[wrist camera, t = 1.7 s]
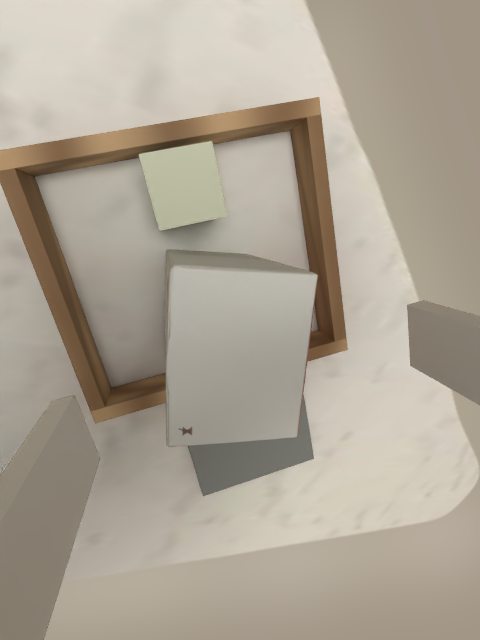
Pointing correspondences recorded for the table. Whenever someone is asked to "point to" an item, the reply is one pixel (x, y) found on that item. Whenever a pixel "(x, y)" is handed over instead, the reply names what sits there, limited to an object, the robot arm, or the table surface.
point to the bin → (62, 155)
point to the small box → (234, 347)
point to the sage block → (184, 185)
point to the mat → (249, 458)
